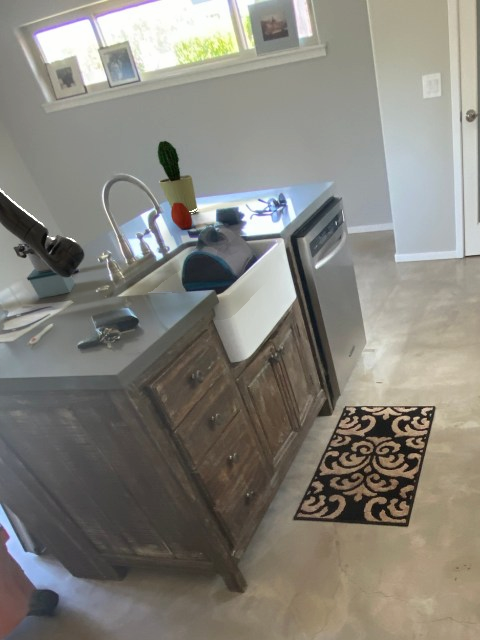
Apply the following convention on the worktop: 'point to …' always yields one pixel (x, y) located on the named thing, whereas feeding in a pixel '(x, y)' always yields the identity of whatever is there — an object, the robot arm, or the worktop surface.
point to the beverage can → (38, 263)
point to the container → (50, 283)
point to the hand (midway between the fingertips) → (34, 243)
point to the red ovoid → (181, 216)
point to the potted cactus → (175, 178)
